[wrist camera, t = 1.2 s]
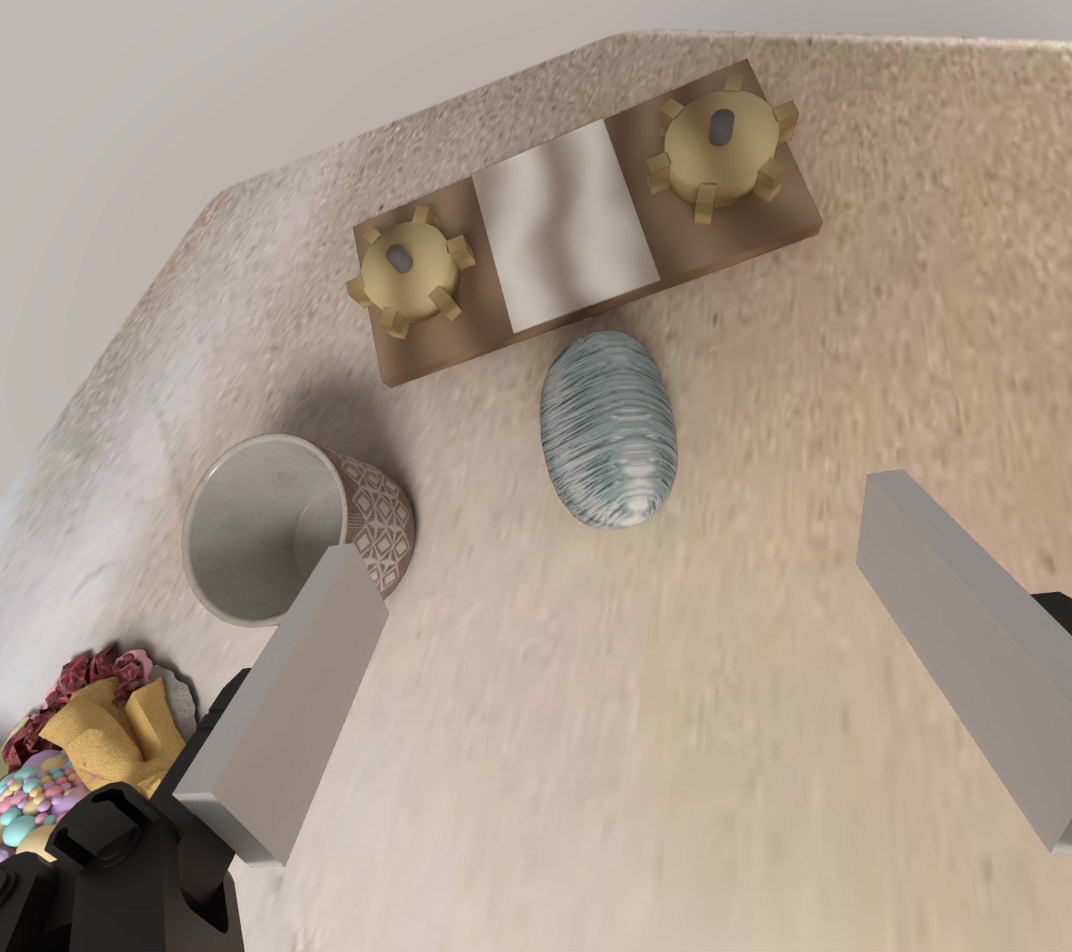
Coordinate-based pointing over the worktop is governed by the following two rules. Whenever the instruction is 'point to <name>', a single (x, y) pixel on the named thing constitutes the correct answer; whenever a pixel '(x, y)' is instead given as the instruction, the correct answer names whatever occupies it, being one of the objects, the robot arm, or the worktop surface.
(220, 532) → the planter
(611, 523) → the grey streaked egg
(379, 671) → the worktop surface
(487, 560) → the worktop surface
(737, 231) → the gear board
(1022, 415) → the worktop surface
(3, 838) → the candy landscape model
